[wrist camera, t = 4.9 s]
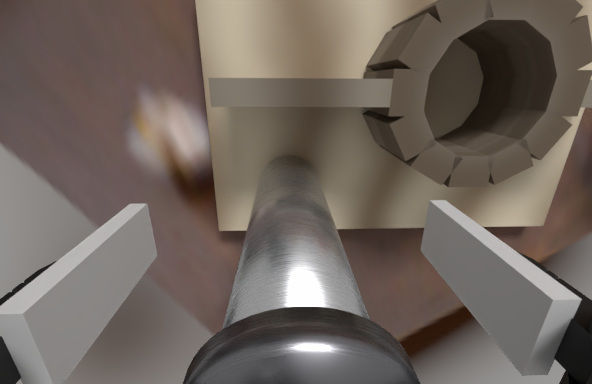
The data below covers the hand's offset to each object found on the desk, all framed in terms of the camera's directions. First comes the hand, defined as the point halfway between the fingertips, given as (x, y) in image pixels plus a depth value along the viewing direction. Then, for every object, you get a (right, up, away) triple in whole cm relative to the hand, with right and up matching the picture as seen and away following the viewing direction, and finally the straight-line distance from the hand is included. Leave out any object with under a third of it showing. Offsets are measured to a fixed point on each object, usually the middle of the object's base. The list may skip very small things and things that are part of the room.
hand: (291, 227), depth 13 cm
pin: (0, +2, +6) cm, 6 cm away
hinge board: (+7, +6, +6) cm, 11 cm away
